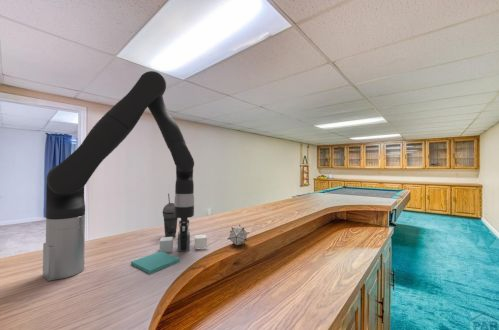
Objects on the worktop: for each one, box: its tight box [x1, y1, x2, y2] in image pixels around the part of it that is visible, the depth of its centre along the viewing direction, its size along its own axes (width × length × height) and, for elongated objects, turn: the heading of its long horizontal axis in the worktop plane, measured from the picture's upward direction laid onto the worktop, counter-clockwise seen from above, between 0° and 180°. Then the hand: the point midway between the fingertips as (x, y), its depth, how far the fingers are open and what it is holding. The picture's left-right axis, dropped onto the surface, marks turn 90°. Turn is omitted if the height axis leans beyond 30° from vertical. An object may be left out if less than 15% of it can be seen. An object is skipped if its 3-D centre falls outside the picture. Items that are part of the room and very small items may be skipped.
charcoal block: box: [177, 231, 191, 252], centre depth 88 cm, size 4×4×6 cm
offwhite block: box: [194, 234, 208, 250], centre depth 90 cm, size 4×4×4 cm
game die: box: [227, 224, 250, 248], centre depth 93 cm, size 9×8×10 cm
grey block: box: [158, 236, 174, 253], centre depth 86 cm, size 4×4×4 cm
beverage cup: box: [161, 193, 179, 239], centre depth 103 cm, size 7×7×20 cm
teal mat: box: [130, 251, 181, 275], centre depth 75 cm, size 11×11×1 cm
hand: (183, 247), depth 88 cm, fingers closed on charcoal block, 4 cm apart
